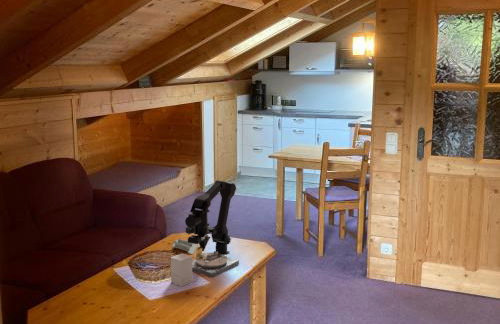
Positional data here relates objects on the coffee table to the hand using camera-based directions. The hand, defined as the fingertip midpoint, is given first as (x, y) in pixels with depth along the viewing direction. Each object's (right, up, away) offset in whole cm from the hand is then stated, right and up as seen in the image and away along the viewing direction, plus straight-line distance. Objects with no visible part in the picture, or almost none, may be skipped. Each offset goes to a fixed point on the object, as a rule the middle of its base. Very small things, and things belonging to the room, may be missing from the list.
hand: (202, 250), depth 276 cm
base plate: (+5, -7, -3) cm, 9 cm away
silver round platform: (+5, -5, -3) cm, 8 cm away
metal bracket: (-12, -3, +22) cm, 25 cm away
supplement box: (-8, -11, -24) cm, 27 cm away
